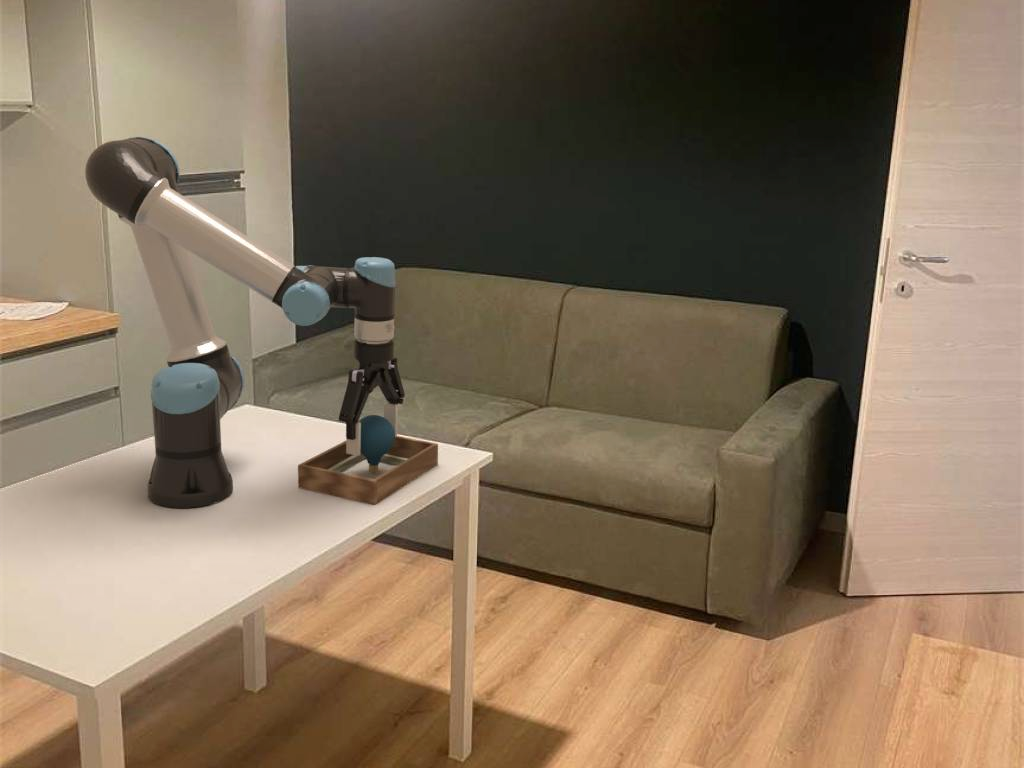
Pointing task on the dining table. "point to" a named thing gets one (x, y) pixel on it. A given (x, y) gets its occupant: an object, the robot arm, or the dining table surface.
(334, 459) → the wooden frame
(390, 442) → the teal bulb shape
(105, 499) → the dining table surface
